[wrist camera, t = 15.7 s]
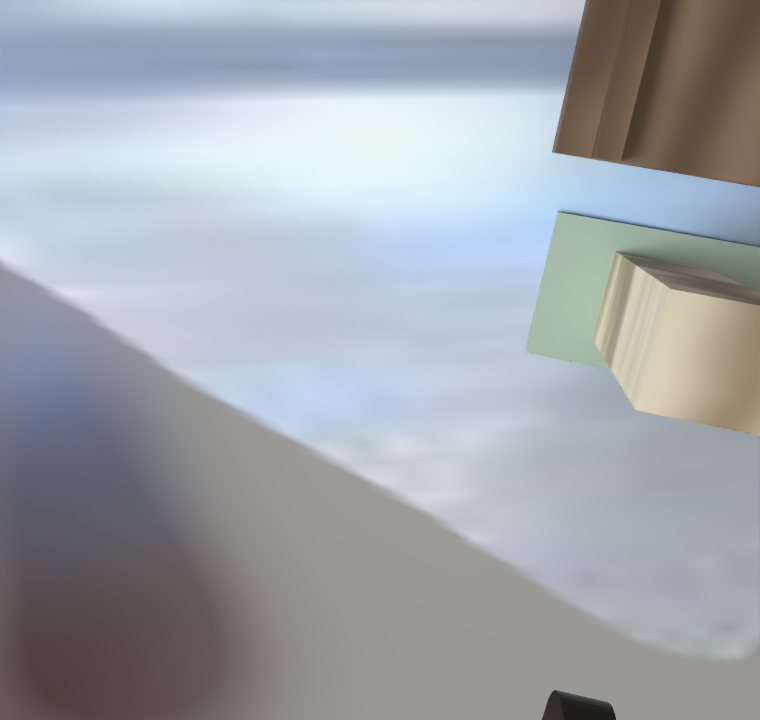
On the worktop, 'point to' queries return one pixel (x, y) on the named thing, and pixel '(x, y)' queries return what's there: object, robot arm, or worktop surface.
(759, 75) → the walnut lane
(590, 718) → the robot arm
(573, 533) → the worktop surface
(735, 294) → the birch block
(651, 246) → the sage mat
